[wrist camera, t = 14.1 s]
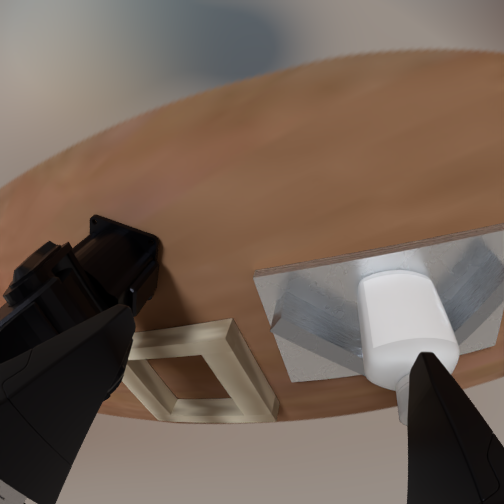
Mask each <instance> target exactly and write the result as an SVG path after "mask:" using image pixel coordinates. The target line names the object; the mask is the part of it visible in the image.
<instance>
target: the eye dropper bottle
mask: <svg viewBox="0 0 504 504" xmlns="http://www.w3.org/2000/svg"><path fill="white" fill-rule="evenodd" d="M357 306H358V314H359V324H360V333H361V344H362V354H363V364H364V372H365V375H366V378H367V379H368V380H369V381H371V382H372V383H374V384H376V385H378V386H380V387H383V388H386V389H389V390H393V391H396V396H397V404H398V413H399V420H400V422H401V423H403V424H404V425H406V426H407V417H408V398H409V374H410V370H411V368H412V366H413V364H414V362H415V360H416V358H417V357H418V355H419V353H420V352H433V353H434V354H435V355H436V356H437V358H438V359H439V360H440V361H441V363H442V364H443V365H444V366H445V368H446V369H447V370H448V371H449V373H450V374H452V372H453V370H454V369H455V366H456V364H457V362H458V359H459V346H458V343H457V340H456V337H455V334H454V331H453V329H452V326H451V323H450V321H449V318H448V316H447V314H446V311H445V309H444V306H443V304H442V302H441V300H440V297H439V295H438V293H437V291H436V288H435V286H434V284H433V282H432V281H431V279H430V278H429V277H427V276H425V275H423V274H420V273H417V272H413V271H407V270H390V271H384V272H379V273H376V274H372V275H369V276H367V277H365V278H363V279H362V280H361V281H360V283H359V286H358V295H357Z"/></svg>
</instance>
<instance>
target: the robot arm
mask: <svg viewBox="0 0 504 504" xmlns="http://www.w3.org/2000/svg"><path fill="white" fill-rule="evenodd" d="M95 220H96V221H97V222H96V221H95ZM151 240H152V241H153V242H154V243H152V242H151ZM158 246H159V240H158V238H157V237H156V236H155V235H153V234H150V233H147V232H144V231H141V230H138V229H136V228H133V227H130V226H127V225H124V224H122V223H119V222H116V221H113V220H110V219H107V218H105V217H102V216H99V215H94V216H92V217H91V218H90V235H89V236H87V237H86V238H85V239H84V240H82V241H81V242H80V243H79V244H77V245H76V246H75V247H74V248H72V247H71V245H70V243H69V242H67V243H65V244H63V245H62V246H61V245H56V244H54V243H52V242H51V241H49V242H47V243H45V244H44V245H43V246H41V247H40V248H39V249H38V250H36V251H35V252H34V253H33V254H31V255H30V256H29V257H28V258H27V259H26V260H25V261H24V262H23V263H21V264H20V265H19V266H18V267H17V268H16V269H15V270H14V276H13V281H12V282H11V283H10V285H9V287H8V289H7V290H6V291H5V293H4V294H3V297H4V298H5V300H6V301H7V303H5V304H4V305H3V306H2V307H1V308H0V504H25V503H24V502H25V500H26V498H29V499H31V500H32V501H34V502H36V503H37V504H55V503H56V501H57V499H58V496H59V494H60V492H61V489H62V487H63V485H64V483H65V480H66V478H67V476H68V474H69V471H70V469H71V467H72V464H73V462H74V460H75V458H76V456H77V453H78V451H79V449H80V447H81V445H82V443H83V441H84V439H85V437H86V434H87V432H88V430H89V428H90V426H91V424H92V422H93V420H94V418H95V416H96V414H97V412H98V410H99V408H100V406H101V404H102V402H103V401H105V400H106V399H108V398H109V397H110V394H111V393H112V392H114V391H115V390H116V388H117V387H118V386H119V384H120V383H121V381H122V379H123V376H124V373H125V369H126V365H127V362H128V358H129V354H130V351H131V347H132V344H133V338H132V337H133V335H134V332H135V328H136V326H135V321H134V318H133V317H135V316H136V315H137V314H138V313H139V311H140V310H141V308H142V307H143V306H144V304H145V303H146V301H147V300H151V299H152V297H153V295H154V290H155V289H156V288H157V280H158V270H159V264H158V262H157V255H158ZM407 427H408V494H407V504H504V447H503V445H502V444H501V443H500V441H499V440H498V438H497V437H496V435H495V434H494V433H493V431H492V430H491V428H490V427H489V425H488V424H487V423H486V421H485V420H484V418H483V417H482V416H481V414H480V413H479V411H478V410H477V409H476V407H475V406H474V404H473V403H472V402H471V400H470V399H469V398H468V396H467V395H466V394H465V392H464V391H463V390H462V388H461V387H460V386H459V384H458V383H457V382H456V381H455V379H454V378H453V377H452V375H451V374H450V373H449V371H448V370H447V369H446V368H445V366H444V365H443V364H442V363H441V361H440V360H439V359H438V358H437V356H436V355H435V354H434V353H433V352H420V353H419V355H418V357H417V358H416V360H415V362H414V364H413V366H412V368H411V370H410V374H409V398H408V417H407Z"/></svg>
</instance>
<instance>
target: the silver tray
mask: <svg viewBox="0 0 504 504" xmlns="http://www.w3.org/2000/svg"><path fill="white" fill-rule="evenodd" d="M390 270H407V271H413V272H417V273H420V274H423V275H425V276H427V277H429V278H430V279H431V281H432V282H433V284H434V286H435V288H436V291H437V293H438V295H439V297H440V300H441V302H442V304H443V306H444V309H445V311H446V314H447V316H448V318H449V321H450V323H451V326H452V329H453V331H454V334H455V337H456V340H457V343H458V346H459V355H462V354H466V353H470V352H473V351H477V350H481V349H484V348H488V347H491V346H494V345H495V344H496V340H497V336H498V332H499V327H500V323H501V319H502V314H503V309H504V223H502V224H497V225H493V226H488V227H483V228H478V229H473V230H469V231H464V232H459V233H454V234H449V235H444V236H439V237H434V238H429V239H424V240H419V241H414V242H408V243H403V244H398V245H393V246H388V247H382V248H377V249H372V250H366V251H361V252H356V253H350V254H345V255H340V256H334V257H329V258H323V259H317V260H312V261H306V262H301V263H295V264H289V265H284V266H278V267H272V268H266V269H261V270H255V273H254V276H253V279H254V282H255V285H256V288H257V290H258V293H259V296H260V298H261V301H262V304H263V307H264V309H265V312H266V315H267V318H268V320H269V323H270V326H271V328H270V332H272V333H273V334H274V337H275V339H276V342H277V345H278V347H279V350H280V353H281V356H282V358H283V361H284V364H285V366H286V369H287V372H288V374H289V377H290V380H291V382H302V381H313V380H322V379H331V378H340V377H348V376H355V375H363V376H366V375H365V372H364V364H363V354H362V344H361V333H360V324H359V314H358V306H357V295H358V286H359V283H360V281H361V280H362V279H363V278H365V277H367V276H369V275H372V274H376V273H379V272H384V271H390Z"/></svg>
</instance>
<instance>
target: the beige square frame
mask: <svg viewBox="0 0 504 504" xmlns="http://www.w3.org/2000/svg"><path fill="white" fill-rule="evenodd" d="M132 338H133V344H132V347H131V351H130V354H129V358H128V362H127V365H126V369H125V373H124V376H123V379H122V381H123V382H124V384H125V385H126V386H127V387H128V388H129V389H130V390H131V392H132V393H133V394H134V395H135V396H136V397H137V398H138V399H139V400H140V402H141V403H142V404H143V405H144V406H145V407H146V408H147V409H148V410H149V411H150V412H151V413H152V414H153V415H154V416H155V417H156V418H157V419H158V420H160V421H174V422H195V423H256V422H276V421H277V415H278V410H279V404H280V402H279V401H278V399H277V397H276V395H275V394H274V392H273V390H272V388H271V387H270V385H269V383H268V381H267V380H266V378H265V376H264V374H263V373H262V371H261V369H260V367H259V365H258V364H257V362H256V360H255V358H254V356H253V355H252V353H251V351H250V349H249V347H248V346H247V344H246V342H245V340H244V338H243V336H242V335H241V333H240V331H239V329H238V327H237V325H236V323H235V322H234V320H233V318H230V319H225V320H219V321H212V322H206V323H200V324H194V325H187V326H180V327H174V328H167V329H160V330H152V331H145V332H137V333H134V335H133V337H132ZM194 355H202V356H203V358H204V359H205V361H206V362H207V364H208V365H209V367H210V368H211V370H212V371H213V372H214V374H215V375H216V377H217V378H218V380H219V381H220V383H221V384H222V385H223V387H224V388H225V390H226V391H227V392H228V394H229V395H230V397H231V398H222V399H177V398H176V397H175V395H174V394H173V393H172V392H171V391H170V389H169V388H168V387H167V386H166V385H165V383H164V382H163V381H162V380H161V378H160V377H159V376H158V375H157V373H156V372H155V371H154V370H153V368H152V367H151V366H150V365H149V363H148V362H147V361H146V359H157V358H171V357H183V356H194Z"/></svg>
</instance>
